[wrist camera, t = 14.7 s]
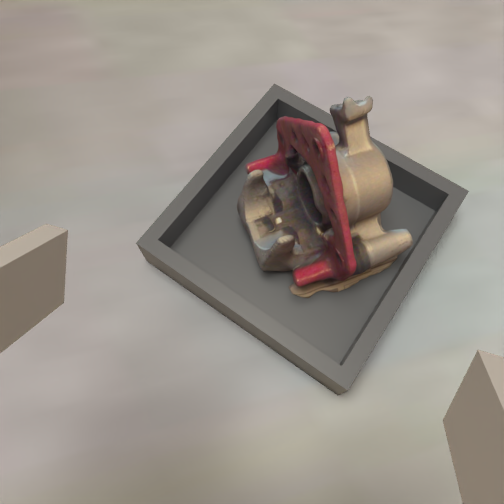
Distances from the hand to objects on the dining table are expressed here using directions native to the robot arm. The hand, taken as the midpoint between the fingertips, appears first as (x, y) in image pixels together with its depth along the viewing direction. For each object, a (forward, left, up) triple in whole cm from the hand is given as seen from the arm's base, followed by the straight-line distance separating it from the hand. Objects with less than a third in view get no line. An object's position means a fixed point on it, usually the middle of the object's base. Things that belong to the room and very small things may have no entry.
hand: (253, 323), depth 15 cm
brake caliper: (-3, +11, -16) cm, 20 cm away
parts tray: (-3, +11, -17) cm, 20 cm away
